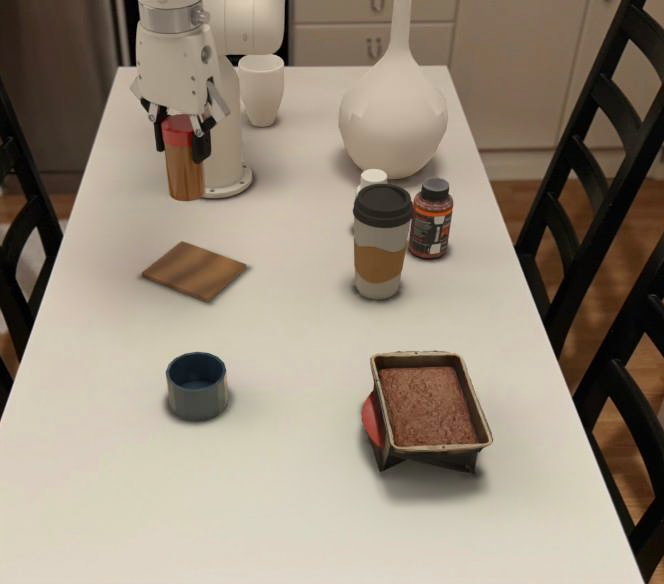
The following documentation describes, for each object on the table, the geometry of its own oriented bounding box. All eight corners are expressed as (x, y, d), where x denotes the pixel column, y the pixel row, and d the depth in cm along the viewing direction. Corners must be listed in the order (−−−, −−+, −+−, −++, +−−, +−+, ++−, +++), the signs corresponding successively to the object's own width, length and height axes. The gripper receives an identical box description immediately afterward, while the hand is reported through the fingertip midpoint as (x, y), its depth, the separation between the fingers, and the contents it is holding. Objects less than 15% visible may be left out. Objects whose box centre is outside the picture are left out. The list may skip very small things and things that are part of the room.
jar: (183, 178, 127) (176, 110, 120) (213, 188, 125) (209, 120, 118) (160, 195, 124) (152, 126, 117) (191, 205, 122) (185, 136, 115)
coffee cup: (411, 277, 136) (421, 187, 126) (397, 309, 130) (406, 218, 120) (357, 266, 138) (362, 177, 128) (341, 298, 132) (345, 207, 122)
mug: (285, 131, 169) (284, 71, 162) (240, 132, 169) (237, 71, 161) (283, 102, 178) (283, 44, 170) (240, 103, 178) (238, 44, 170)
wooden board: (142, 277, 136) (141, 272, 136) (182, 245, 142) (181, 240, 142) (207, 302, 132) (207, 298, 131) (246, 268, 138) (246, 264, 137)
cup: (157, 407, 116) (153, 377, 112) (192, 374, 120) (189, 344, 117) (205, 428, 113) (202, 399, 110) (239, 394, 118) (237, 364, 114)
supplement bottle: (445, 262, 139) (454, 196, 131) (406, 257, 140) (413, 192, 132) (448, 240, 143) (457, 175, 135) (410, 236, 144) (417, 171, 136)
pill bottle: (379, 219, 148) (383, 163, 141) (393, 236, 144) (398, 180, 137) (348, 225, 146) (351, 169, 140) (361, 242, 143) (365, 186, 136)
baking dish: (469, 407, 118) (472, 341, 113) (495, 496, 104) (500, 425, 98) (358, 415, 119) (355, 349, 113) (368, 504, 104) (366, 434, 99)
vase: (332, 142, 166) (338, -32, 146) (432, 140, 167) (453, -33, 146) (340, 194, 153) (349, 11, 133) (449, 191, 154) (474, 9, 133)
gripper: (249, 17, 107) (253, 158, 120) (134, -11, 113) (149, 125, 126) (212, 40, 102) (221, 183, 115) (94, 9, 109) (115, 149, 122)
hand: (183, 152), depth 121 cm, fingers closed on jar, 5 cm apart
